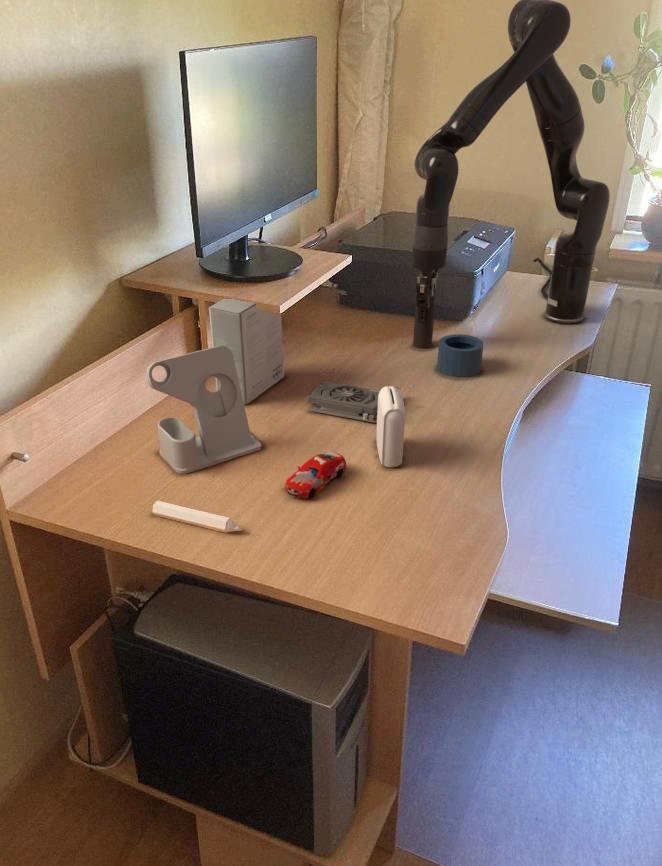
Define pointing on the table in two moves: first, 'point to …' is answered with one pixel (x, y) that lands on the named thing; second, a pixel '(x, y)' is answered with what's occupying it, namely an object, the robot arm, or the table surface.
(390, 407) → the photo printer
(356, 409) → the graphics card
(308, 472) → the race car
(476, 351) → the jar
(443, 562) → the table surface
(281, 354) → the hard drive box
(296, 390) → the table surface
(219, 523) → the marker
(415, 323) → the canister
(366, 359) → the table surface
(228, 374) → the phone holder
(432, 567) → the table surface
